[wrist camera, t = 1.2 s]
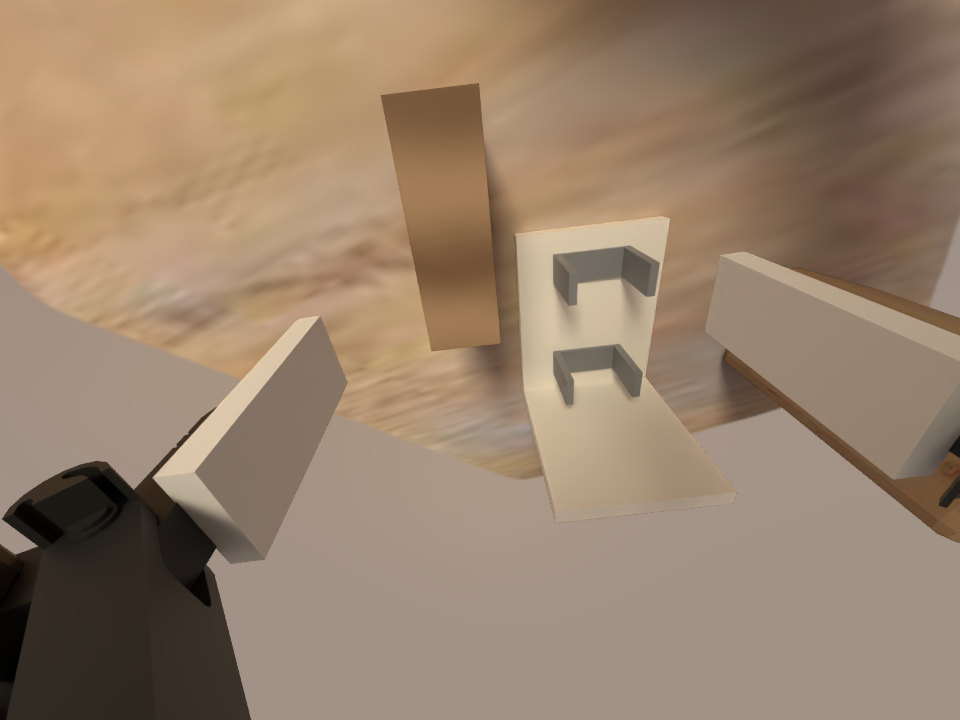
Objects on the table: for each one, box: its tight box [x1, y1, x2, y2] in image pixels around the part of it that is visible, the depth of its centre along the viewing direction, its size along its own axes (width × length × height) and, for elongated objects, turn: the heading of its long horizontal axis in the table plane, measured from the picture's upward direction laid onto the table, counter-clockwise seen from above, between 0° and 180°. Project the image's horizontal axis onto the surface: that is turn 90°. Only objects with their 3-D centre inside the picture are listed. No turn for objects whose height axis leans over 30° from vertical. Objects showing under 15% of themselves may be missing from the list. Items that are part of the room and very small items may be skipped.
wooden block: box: [724, 268, 960, 543], centre depth 26 cm, size 10×10×20 cm
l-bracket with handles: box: [514, 216, 737, 523], centre depth 27 cm, size 16×12×15 cm
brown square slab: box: [381, 83, 501, 351], centre depth 23 cm, size 12×4×12 cm, turn 6°
